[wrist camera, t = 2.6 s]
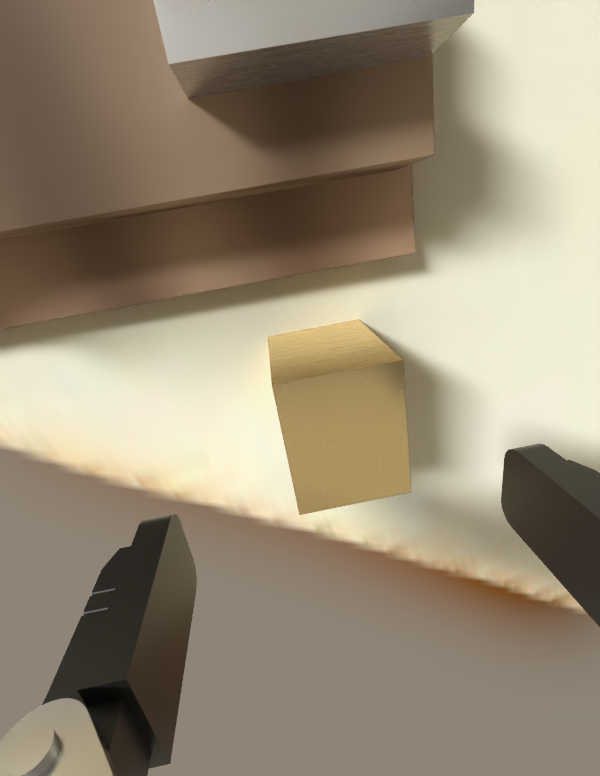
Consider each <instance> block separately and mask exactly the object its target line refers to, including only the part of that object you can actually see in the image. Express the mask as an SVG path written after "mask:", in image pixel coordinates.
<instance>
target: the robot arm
mask: <svg viewBox="0 0 600 776" xmlns="http://www.w3.org/2000/svg"><path fill="white" fill-rule="evenodd" d="M501 503H502V509H503V512H504V515H505V517H506V519H507V521H508V523H509V524H510V526H511V527H512V528H513V529H514V530H515V531H516V533H517V534H518V535H519V536H520V537H521V538H522V539H523V541H524V542H525V543H526V544H527V545H528V546H529V547H530V548H531V550H532V551H533V552H534V553H535V554H536V555H537V556H538V558H539V559H540V560H541V561H542V562H543V563H544V564H545V565H546V567H547V568H548V569H549V570H550V571H551V572H552V573H553V575H554V576H555V577H556V578H557V579H558V580H559V581H560V582H561V584H562V585H563V586H564V587H565V588H566V589H567V590H568V591H569V593H570V594H571V595H572V596H573V597H574V598H575V599H576V601H577V602H578V603H579V604H580V605H581V606H582V607H583V608H584V610H585V611H586V612H587V613H588V614H589V615H590V616H591V618H592V619H593V620H594V621H595V622H596V623H597V624H598V625H599V627H600V473H598V472H597V471H595V470H593V469H590V468H588V467H585V466H583V465H581V464H578V463H576V462H573V461H571V460H567V461H566V460H565V459H564V458H562V457H561V456H560V455H558V454H557V453H555V452H554V451H553V450H551V449H550V448H549V447H547V446H545V445H543V444H536V445H531V446H526V447H520V448H515V449H510V450H508V451H507V452H506V454H505V458H504V470H503V483H502V497H501ZM195 594H196V570H195V564H194V561H193V558H192V555H191V552H190V549H189V546H188V543H187V540H186V537H185V534H184V531H183V528H182V525H181V523H180V520H179V518H178V516H177V515H175V514H174V515H168V516H163V517H159V518H153V519H148V520H143V521H142V522H141V523H140V524H139V527H138V529H137V532H136V534H135V538H134V540H133V543H132V545H131V546H130V547H125V548H120V549H119V550H118V551H117V552H116V554H115V555H114V556H113V557H112V558H111V559H110V561H109V562H108V563H107V564H106V565H105V566H104V568H103V569H102V570H101V573H100V575H99V577H98V580H97V582H96V584H95V586H94V589H93V591H92V596H90V598H89V600H88V602H87V605H86V607H85V609H84V616H82V617H81V618H80V621H79V623H78V625H77V628H76V630H75V632H74V634H73V637H72V639H71V641H70V644H69V646H68V648H67V650H66V653H65V655H64V657H63V660H62V662H61V664H60V666H59V669H58V671H57V673H56V676H55V678H54V680H53V683H52V685H51V687H50V689H49V692H48V694H47V696H46V698H45V700H44V702H43V704H42V706H40V707H38V708H37V709H35V710H33V711H32V712H31V713H29V714H28V715H26V716H25V717H24V718H23V719H22V720H20V721H19V722H18V723H17V724H16V725H15V726H14V727H13V728H12V729H11V730H10V731H9V732H8V733H7V734H6V735H5V736H4V737H3V739H2V740H1V741H0V776H147V774H148V769H149V768H153V767H157V766H161V765H166V764H170V761H171V754H172V747H173V741H174V734H175V727H176V721H177V714H178V707H179V701H180V693H181V687H182V681H183V674H184V667H185V660H186V654H187V647H188V641H189V634H190V628H191V621H192V614H193V608H194V601H195Z"/></svg>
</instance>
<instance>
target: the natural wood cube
mask: <svg viewBox="0 0 600 776" xmlns="http://www.w3.org/2000/svg"><path fill="white" fill-rule="evenodd" d="M268 347H269V358H270V369H271V380H272V387H273V392H274V397H275V402H276V406H277V411H278V416H279V420H280V425H281V430H282V435H283V439H284V444H285V449H286V453H287V458H288V463H289V467H290V472H291V477H292V482H293V486H294V491H295V496H296V500H297V505H298V510H299V515H302V514H307V513H312V512H316V511H321V510H326V509H331V508H336V507H341V506H346V505H351V504H356V503H361V502H366V501H370V500H375V499H380V498H385V497H390V496H395V495H400V494H405V493H410V492H411V482H410V466H409V450H408V434H407V418H406V402H405V385H404V369H403V359H402V358H400V357H399V356H398V355H397V354H396V353H395V352H394V351H393V350H392V349H391V348H390V347H388V346H387V345H386V344H385V343H384V342H383V341H382V340H381V339H380V338H379V337H378V336H376V335H375V334H374V333H373V332H372V331H371V330H370V329H369V328H368V327H367V326H366V325H365V324H363V323H362V322H361V321H360V320H353V321H348V322H343V323H338V324H332V325H327V326H322V327H316V328H311V329H306V330H301V331H295V332H290V333H285V334H280V335H274V336H269V337H268Z"/></svg>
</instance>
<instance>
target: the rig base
mask: <svg viewBox="0 0 600 776" xmlns="http://www.w3.org/2000/svg"><path fill="white" fill-rule="evenodd" d="M432 155H434V122H433V76H432V55H431V56H430V57H429V58H426V59H420V60H414V61H409V62H403V63H397V64H391V65H385V66H379V67H373V68H367V69H361V70H356V71H350V72H344V73H338V74H332V75H326V76H320V77H314V78H309V79H303V80H297V81H291V82H285V83H279V84H273V85H267V86H261V87H256V88H250V89H244V90H238V91H232V92H226V93H220V94H214V95H208V96H203V97H197V98H191V99H188V98H187V97H186V95H185V93H184V91H183V89H182V88H181V86H180V84H179V82H178V80H177V78H176V77H175V75H174V73H173V71H172V69H171V68H170V66H169V64H168V60H167V55H166V51H165V47H164V43H163V39H162V35H161V31H160V26H159V22H158V18H157V14H156V10H155V6H154V1H153V0H0V329H4V328H10V327H15V326H21V325H26V324H31V323H37V322H42V321H48V320H53V319H59V318H64V317H69V316H75V315H80V314H86V313H91V312H97V311H102V310H107V309H113V308H118V307H124V306H129V305H135V304H140V303H146V302H151V301H156V300H162V299H167V298H173V297H178V296H184V295H189V294H194V293H200V292H205V291H211V290H216V289H222V288H227V287H232V286H238V285H243V284H249V283H254V282H260V281H265V280H270V279H276V278H281V277H287V276H292V275H298V274H303V273H308V272H314V271H319V270H325V269H330V268H336V267H341V266H347V265H352V264H357V263H363V262H368V261H374V260H379V259H385V258H390V257H395V256H401V255H406V254H412V253H415V235H414V212H413V188H412V165H411V164H412V163H415V162H417V161H420V160H422V159H425V158H427V157H430V156H432Z"/></svg>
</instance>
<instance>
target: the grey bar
mask: <svg viewBox="0 0 600 776" xmlns="http://www.w3.org/2000/svg"><path fill="white" fill-rule="evenodd" d="M153 1H154V6H155V10H156V14H157V18H158V22H159V26H160V31H161V35H162V39H163V43H164V47H165V51H166V55H167V60H168V64H169V66H170V68H171V69H172V71H173V73H174V75H175V77H176V78H177V80H178V82H179V84H180V86H181V88H182V89H183V91H184V93H185V95H186V97H187V98H188V99H191V98H197V97H203V96H208V95H214V94H220V93H226V92H232V91H238V90H244V89H250V88H256V87H261V86H267V85H273V84H279V83H285V82H291V81H297V80H303V79H309V78H314V77H320V76H326V75H332V74H338V73H344V72H350V71H356V70H361V69H367V68H373V67H379V66H385V65H391V64H397V63H403V62H409V61H414V60H420V59H426V58H429V57H430V56H431V55H432V54H433V53H434V52H435V51H436V50H437V49H438V48H439V47H440V46H441V45H442V44H443V43H444V42H445V41H446V40H447V39H448V38H449V37H450V36H451V35H452V34H453V33H454V32H455V31H456V30H457V29H458V28H459V27H460V26H461V25H462V24H463V23H464V22H465V21H466V20H467V19H468V18H469V17H470V16H471V15H472V14H473V13H474V0H153Z"/></svg>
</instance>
